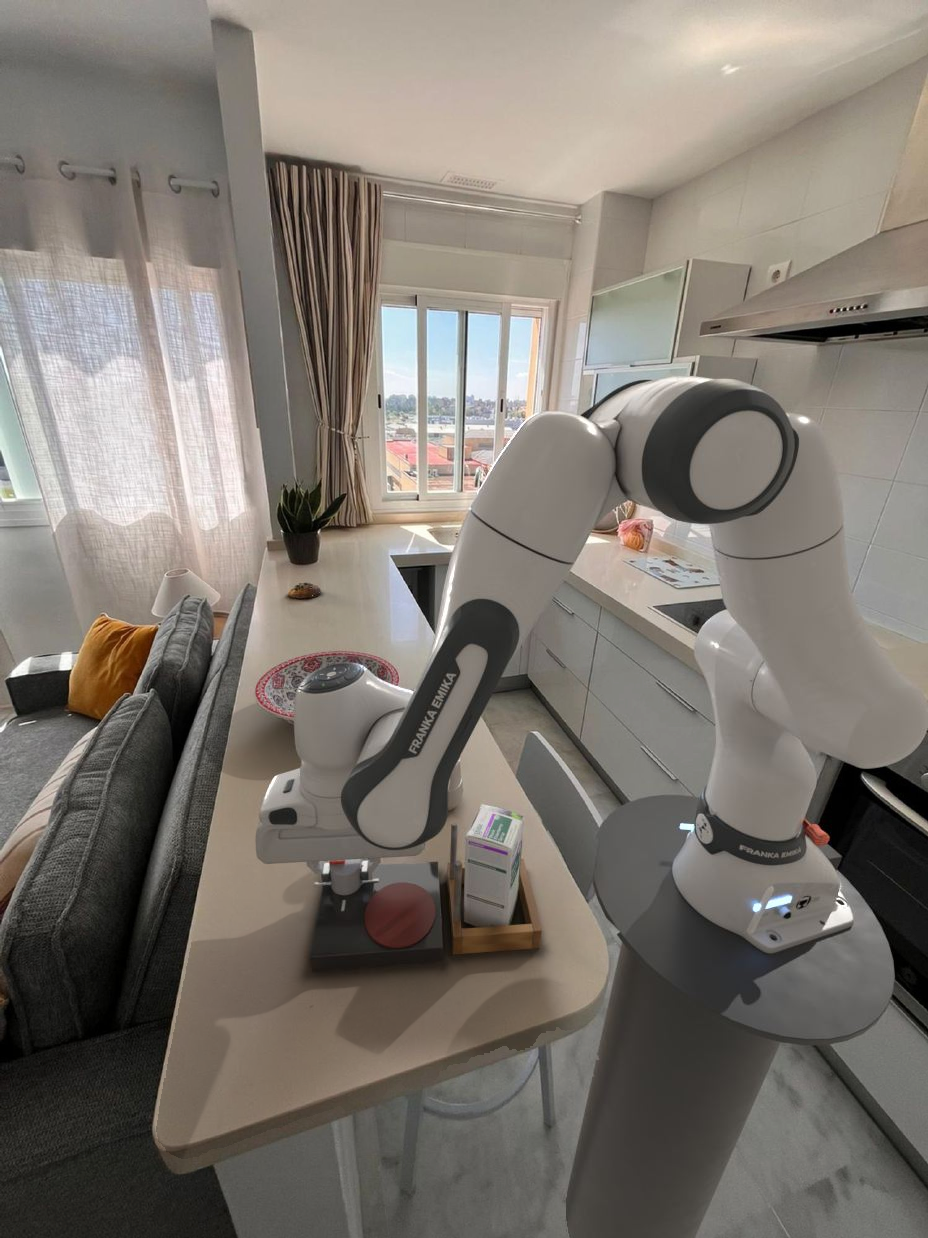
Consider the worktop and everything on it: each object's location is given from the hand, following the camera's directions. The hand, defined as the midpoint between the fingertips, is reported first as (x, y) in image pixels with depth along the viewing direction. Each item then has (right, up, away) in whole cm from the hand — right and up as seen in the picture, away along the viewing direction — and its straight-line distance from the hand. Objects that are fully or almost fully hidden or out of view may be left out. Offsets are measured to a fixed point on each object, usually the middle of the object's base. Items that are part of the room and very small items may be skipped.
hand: (346, 877), depth 64 cm
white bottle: (+12, +3, +18) cm, 22 cm away
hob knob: (0, -1, 0) cm, 1 cm away
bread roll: (-42, +42, +112) cm, 127 cm away
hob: (+5, -4, -2) cm, 7 cm away
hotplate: (+7, -3, -4) cm, 9 cm away
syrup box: (+19, -5, 0) cm, 19 cm away
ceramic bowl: (-13, +13, +42) cm, 45 cm away
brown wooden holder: (+19, -4, 0) cm, 19 cm away
